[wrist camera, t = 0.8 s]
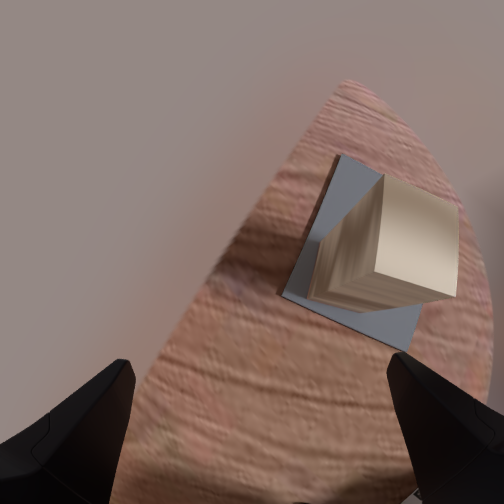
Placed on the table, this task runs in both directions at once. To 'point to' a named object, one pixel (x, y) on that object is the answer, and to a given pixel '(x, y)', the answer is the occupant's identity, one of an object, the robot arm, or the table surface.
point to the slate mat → (329, 215)
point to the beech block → (389, 251)
